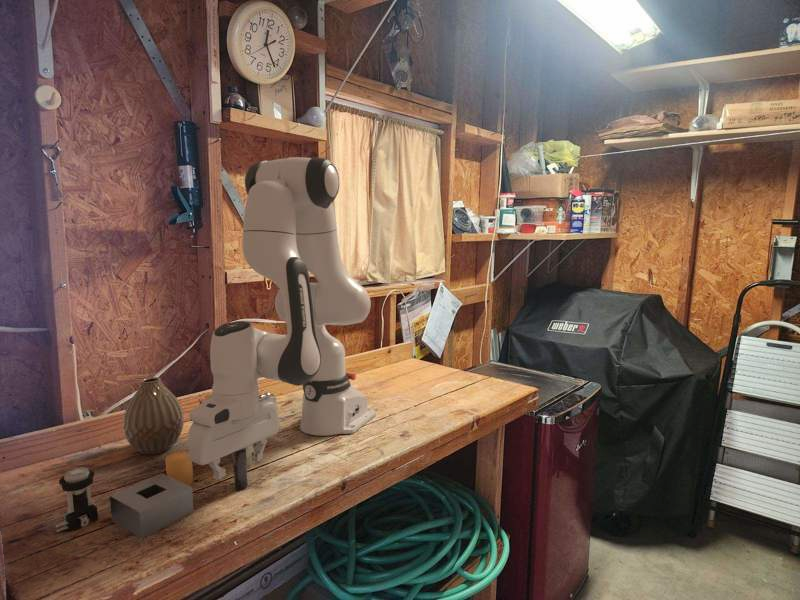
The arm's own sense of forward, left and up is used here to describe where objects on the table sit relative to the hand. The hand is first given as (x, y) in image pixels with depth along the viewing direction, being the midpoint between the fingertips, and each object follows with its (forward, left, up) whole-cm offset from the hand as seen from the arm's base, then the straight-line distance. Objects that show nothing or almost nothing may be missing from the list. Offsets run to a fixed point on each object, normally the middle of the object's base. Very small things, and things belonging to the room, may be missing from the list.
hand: (239, 468), depth 102 cm
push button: (+24, -14, -5) cm, 29 cm away
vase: (-2, -33, -5) cm, 34 cm away
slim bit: (-1, 0, -4) cm, 4 cm away
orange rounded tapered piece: (+5, -12, -4) cm, 14 cm away
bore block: (+15, -5, -4) cm, 17 cm away
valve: (-8, -12, -5) cm, 15 cm away
